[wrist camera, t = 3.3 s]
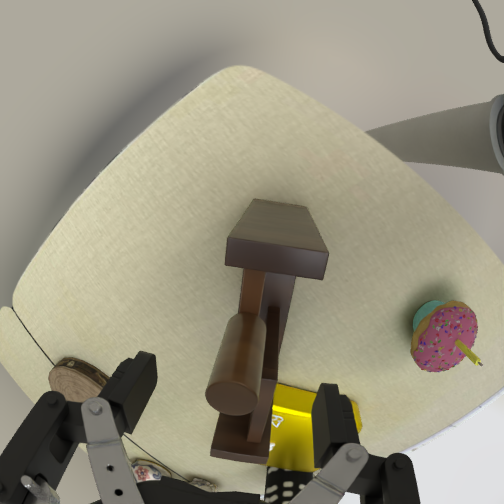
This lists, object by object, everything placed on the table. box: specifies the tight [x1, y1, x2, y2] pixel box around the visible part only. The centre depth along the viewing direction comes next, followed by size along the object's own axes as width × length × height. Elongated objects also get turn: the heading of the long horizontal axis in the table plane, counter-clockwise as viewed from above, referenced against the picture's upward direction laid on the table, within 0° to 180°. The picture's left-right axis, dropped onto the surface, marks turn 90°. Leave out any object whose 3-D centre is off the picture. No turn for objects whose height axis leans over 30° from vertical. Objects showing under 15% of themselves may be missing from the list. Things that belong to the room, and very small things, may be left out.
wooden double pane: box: [210, 199, 329, 465], centre depth 23 cm, size 20×5×14 cm, turn 173°
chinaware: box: [131, 460, 217, 492], centre depth 40 cm, size 28×17×17 cm, turn 126°
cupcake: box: [410, 300, 483, 372], centre depth 23 cm, size 9×8×12 cm
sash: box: [205, 269, 267, 415], centre depth 19 cm, size 8×2×16 cm, turn 173°
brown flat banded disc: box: [48, 358, 110, 402], centre depth 38 cm, size 16×16×3 cm
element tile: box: [260, 383, 362, 472], centre depth 34 cm, size 15×15×5 cm
